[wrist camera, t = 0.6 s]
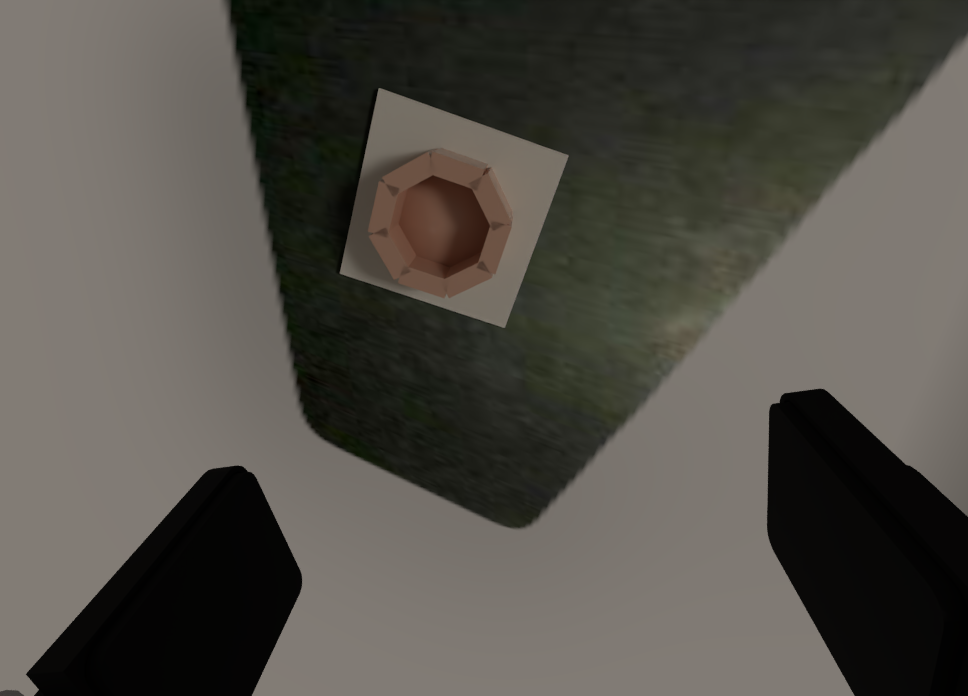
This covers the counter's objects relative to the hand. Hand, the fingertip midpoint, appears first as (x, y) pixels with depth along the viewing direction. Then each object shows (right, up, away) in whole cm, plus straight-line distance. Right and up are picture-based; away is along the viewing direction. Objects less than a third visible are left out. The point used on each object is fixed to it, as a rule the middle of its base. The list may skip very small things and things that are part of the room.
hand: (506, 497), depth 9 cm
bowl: (-3, +11, +24) cm, 27 cm away
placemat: (-3, +11, +24) cm, 27 cm away
